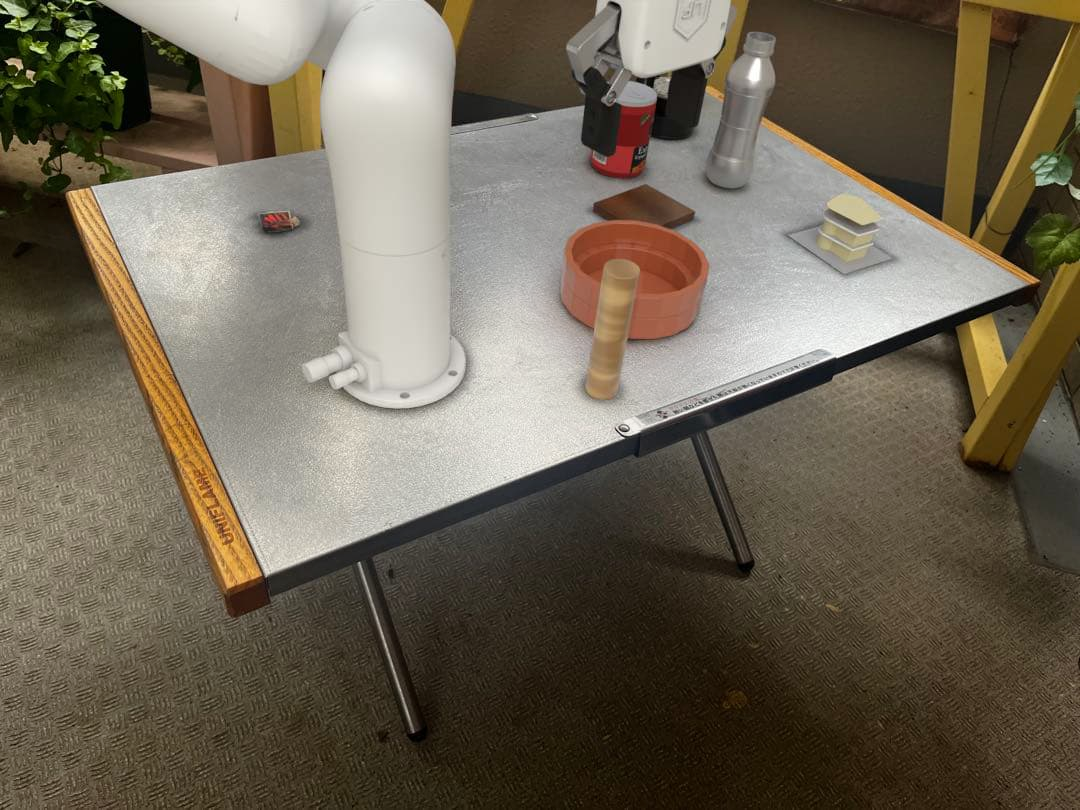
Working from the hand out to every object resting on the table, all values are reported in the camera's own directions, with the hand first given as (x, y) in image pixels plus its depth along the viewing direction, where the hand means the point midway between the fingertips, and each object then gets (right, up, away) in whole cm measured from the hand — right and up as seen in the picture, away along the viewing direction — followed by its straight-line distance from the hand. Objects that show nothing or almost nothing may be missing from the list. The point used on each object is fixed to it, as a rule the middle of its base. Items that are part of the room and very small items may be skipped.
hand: (640, 135), depth 64 cm
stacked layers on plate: (+31, -1, +40) cm, 50 cm away
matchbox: (-40, 0, +33) cm, 52 cm away
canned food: (+3, +13, +52) cm, 54 cm away
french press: (+11, +22, +64) cm, 68 cm away
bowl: (+2, -10, +27) cm, 29 cm away
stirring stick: (-2, -20, +15) cm, 25 cm away
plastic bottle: (+18, +10, +51) cm, 55 cm away
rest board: (+6, +4, +42) cm, 42 cm away
